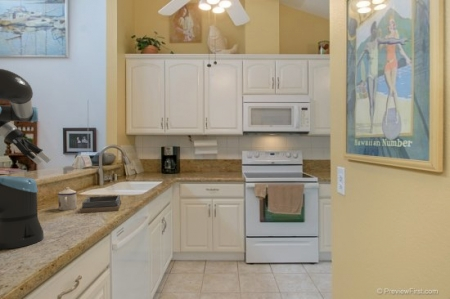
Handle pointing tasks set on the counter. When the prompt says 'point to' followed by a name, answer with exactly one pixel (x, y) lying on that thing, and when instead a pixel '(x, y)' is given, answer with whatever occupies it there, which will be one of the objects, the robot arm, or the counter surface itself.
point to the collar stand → (101, 204)
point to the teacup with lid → (67, 199)
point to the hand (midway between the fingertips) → (44, 161)
